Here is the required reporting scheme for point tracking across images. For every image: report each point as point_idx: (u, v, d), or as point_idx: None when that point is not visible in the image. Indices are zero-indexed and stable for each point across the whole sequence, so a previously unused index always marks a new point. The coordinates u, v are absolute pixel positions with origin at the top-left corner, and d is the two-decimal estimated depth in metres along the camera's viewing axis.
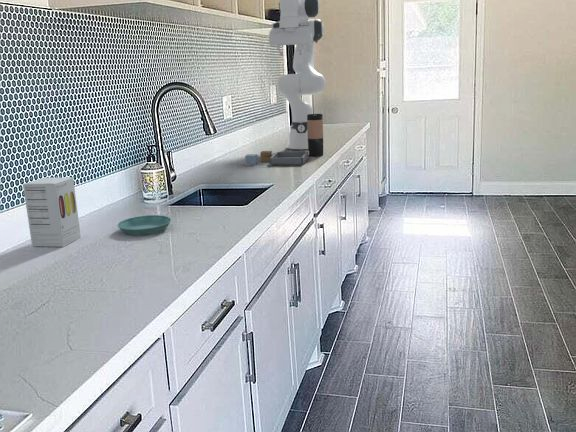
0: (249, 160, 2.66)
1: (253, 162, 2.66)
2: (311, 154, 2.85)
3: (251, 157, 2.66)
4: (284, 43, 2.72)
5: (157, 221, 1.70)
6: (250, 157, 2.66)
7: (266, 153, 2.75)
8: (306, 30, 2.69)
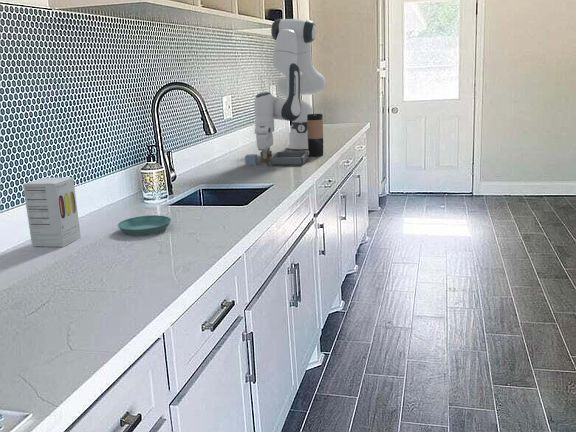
0: (249, 160, 2.66)
1: (253, 162, 2.66)
2: (311, 154, 2.85)
3: (251, 157, 2.66)
4: (268, 146, 2.73)
5: (157, 222, 1.70)
6: (250, 157, 2.66)
7: None
8: None
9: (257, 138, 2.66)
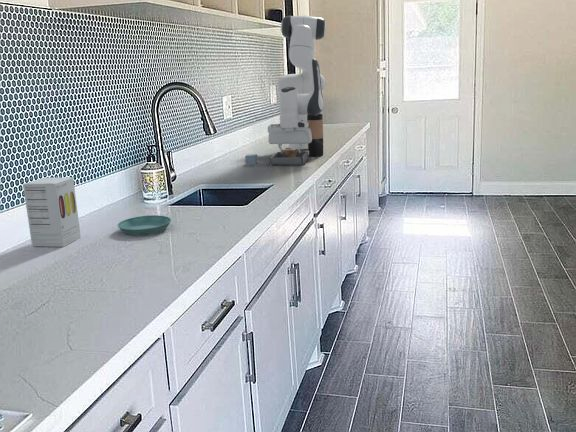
0: (249, 160, 2.66)
1: (253, 162, 2.66)
2: (311, 154, 2.85)
3: (251, 157, 2.66)
4: None
5: (157, 222, 1.70)
6: (250, 157, 2.66)
7: (295, 150, 2.73)
8: None
9: (309, 131, 2.68)
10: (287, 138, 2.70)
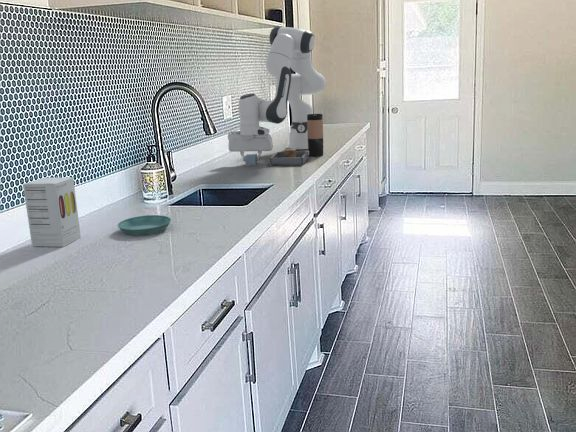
0: (249, 160, 2.66)
1: (253, 162, 2.66)
2: (311, 154, 2.85)
3: (251, 157, 2.66)
4: None
5: (157, 221, 1.70)
6: (250, 157, 2.66)
7: (295, 150, 2.73)
8: None
9: (269, 138, 2.63)
10: (248, 146, 2.65)
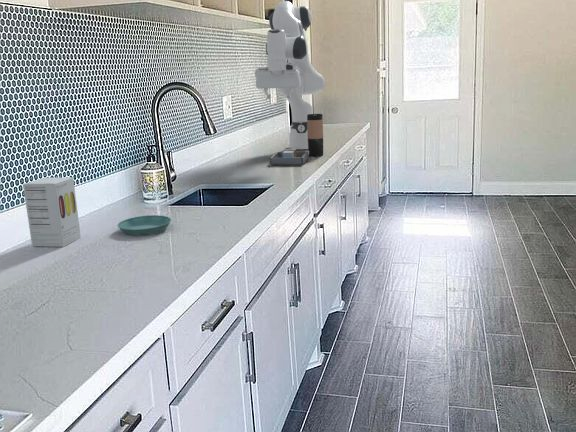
0: (286, 157, 2.65)
1: None
2: (311, 154, 2.85)
3: (288, 154, 2.64)
4: None
5: (157, 221, 1.70)
6: (287, 154, 2.64)
7: (295, 150, 2.73)
8: None
9: (298, 74, 2.60)
10: (275, 82, 2.62)
